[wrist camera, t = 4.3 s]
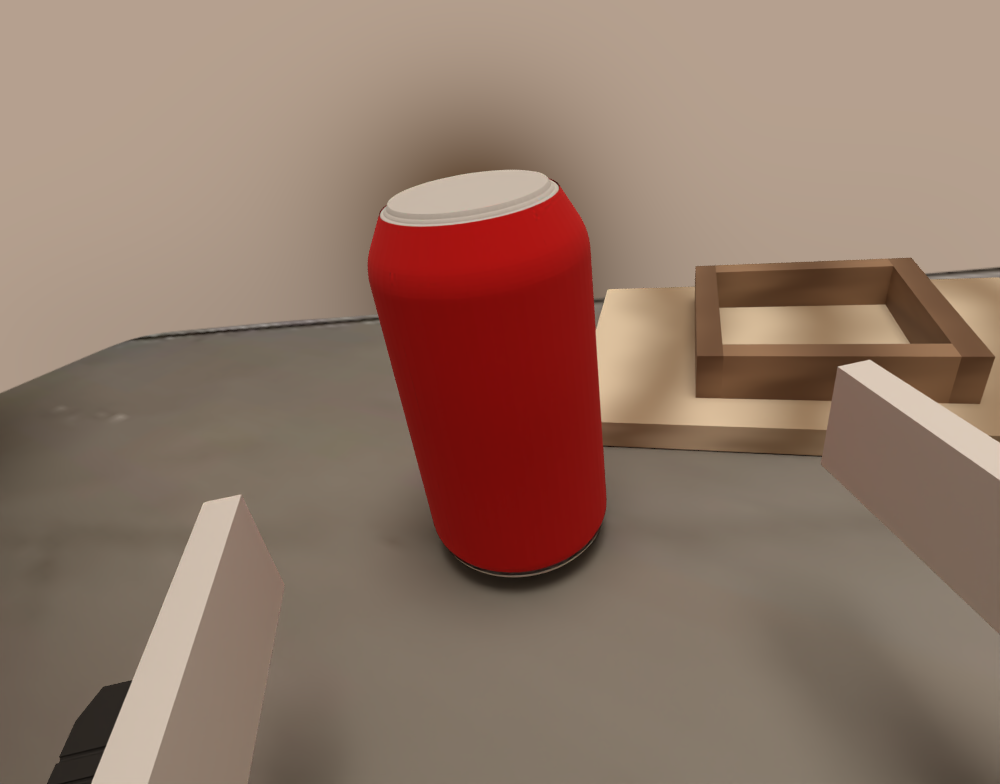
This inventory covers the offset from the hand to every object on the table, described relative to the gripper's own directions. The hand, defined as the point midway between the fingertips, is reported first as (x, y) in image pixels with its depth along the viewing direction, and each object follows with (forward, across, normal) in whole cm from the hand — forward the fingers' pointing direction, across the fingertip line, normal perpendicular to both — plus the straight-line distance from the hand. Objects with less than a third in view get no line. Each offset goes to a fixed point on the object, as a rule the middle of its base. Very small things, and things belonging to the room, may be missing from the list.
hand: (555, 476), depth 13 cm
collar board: (+12, +15, -7) cm, 20 cm away
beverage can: (+6, 0, -7) cm, 9 cm away
